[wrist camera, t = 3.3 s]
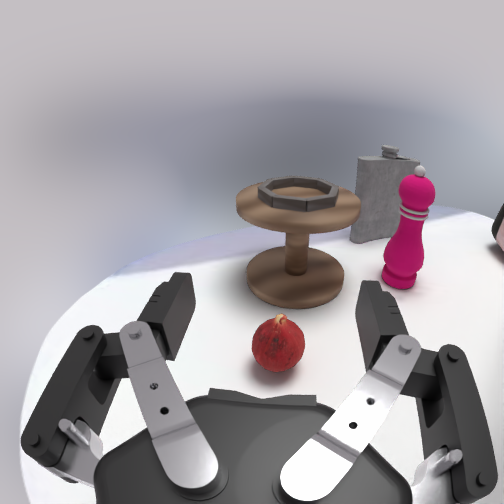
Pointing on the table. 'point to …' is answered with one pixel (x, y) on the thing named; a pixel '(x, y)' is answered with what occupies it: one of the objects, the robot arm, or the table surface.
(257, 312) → the table surface
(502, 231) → the packaged food
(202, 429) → the robot arm
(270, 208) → the ring stand
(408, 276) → the pepper mill
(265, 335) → the onion
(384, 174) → the hip flask
